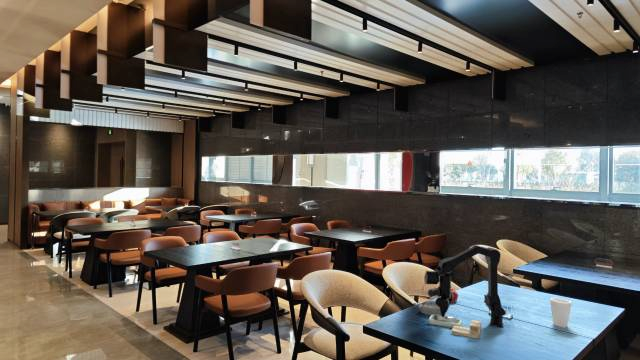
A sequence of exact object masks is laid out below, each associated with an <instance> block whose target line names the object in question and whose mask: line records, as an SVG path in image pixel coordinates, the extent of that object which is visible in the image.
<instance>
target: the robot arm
mask: <svg viewBox="0 0 640 360" xmlns="http://www.w3.org/2000/svg"><path fill="white" fill-rule="evenodd" d="M476 255H483V256H484V258H485V259H484V260H485V261H486V264H487V293H486V294H484V295H483V296H484V297H483V298H484V299H483V303H484V304H485V306H486V307H487V308H488V311H490V321H489V326H493V327H499V328H504V320H503V319H504V316H505V315H506V313H507V311H506V310H505V309H504V308H503V307H502V302H501V298H500V296H499V290H498V288H499V287H498V286H499V285H498V283H499V282H498V281H499V280H498V266H499V264H500V261H501V256H502V255H501V252H500V251H499V250H498V249H496V248H494V247H484V246H482V245H481V246H480V245H477V244H473V245H472V246H471V247H469V248H467V249H465V250H463V251H461V252H460V253H457V254H456V255H454V256H450V257H446V258H443V259H440V260H439V262H438V265H437V266H436V268H435V269H434V270H425V274H424V277H423V278H424V280H423V281H424V284H425V285H438V284H439V285H438V286H437V287H434V288H431V289H430V288H429V289H428V290H427V295H428V296H429V298H432V297H436V296H437V298H436V299H435V301H436V305H438V306H439V307H440V311H441V316H442V317H444V316H446V313H447V312H448V310H449V308H450V305H451V303H452V302H451V301H452V299H453V292H451V289H452V285H451V284H452V277H456V275H455V273H454V272H453V270H454V269H456V268H457V266H458V265H460V264H461V263H464V262H465V261H467V260H469V259H471V258H473V257H474V256H476ZM450 297H451V298H450Z"/></svg>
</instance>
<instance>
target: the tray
mask: <svg viewBox="0 0 640 360" xmlns="http://www.w3.org/2000/svg"><path fill="white" fill-rule="evenodd" d="M428 324H429V325H435V326H439V327H446V328H451V329H453V326H454V325H455V326H461V327H462V325H463V319H460V318H457V324H456V323H450V322H444V321H438V320H434V315H429V318H428Z"/></svg>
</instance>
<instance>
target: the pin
mask: <svg viewBox="0 0 640 360" xmlns="http://www.w3.org/2000/svg"><path fill="white" fill-rule="evenodd" d="M457 319H458V318H457V317H454V316H447V315H445V316H444V317H442V316H441V315H436V314H435V315H434V320H438V321H444V322H450V323H456V324H457Z"/></svg>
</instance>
